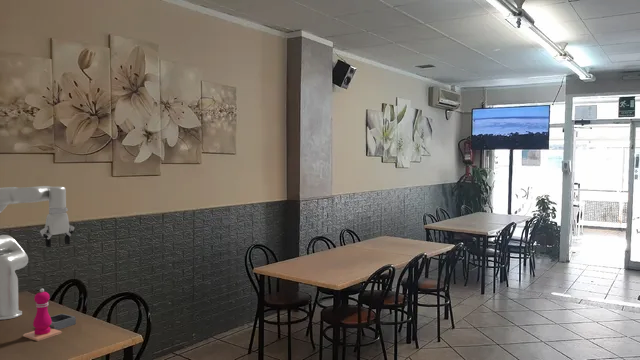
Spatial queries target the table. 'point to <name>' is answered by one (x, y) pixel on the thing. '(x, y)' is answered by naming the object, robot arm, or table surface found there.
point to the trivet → (40, 337)
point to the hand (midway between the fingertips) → (58, 245)
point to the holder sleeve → (62, 321)
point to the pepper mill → (42, 313)
